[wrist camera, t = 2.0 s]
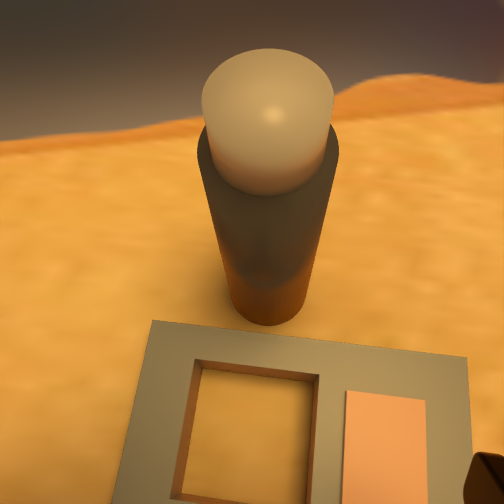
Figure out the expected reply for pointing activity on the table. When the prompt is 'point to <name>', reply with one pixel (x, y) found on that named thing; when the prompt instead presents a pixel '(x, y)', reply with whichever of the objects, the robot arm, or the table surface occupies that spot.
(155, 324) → the socket plate
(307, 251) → the grey and beige cylinder
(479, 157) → the table surface
